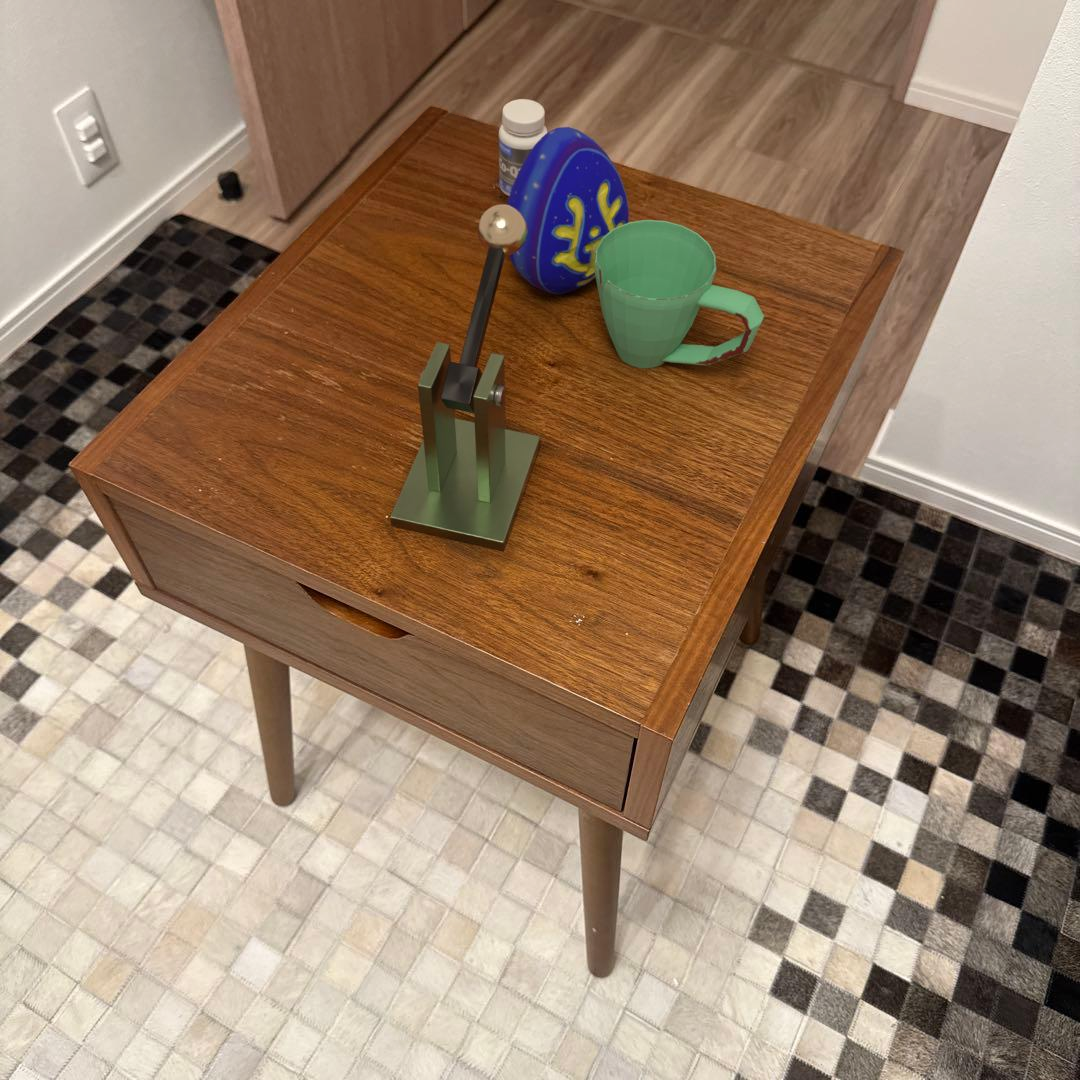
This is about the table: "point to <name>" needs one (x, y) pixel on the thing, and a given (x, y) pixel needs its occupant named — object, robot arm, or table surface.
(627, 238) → the mug
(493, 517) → the bracket
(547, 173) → the ornament
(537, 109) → the pill bottle
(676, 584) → the table surface
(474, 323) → the lever
